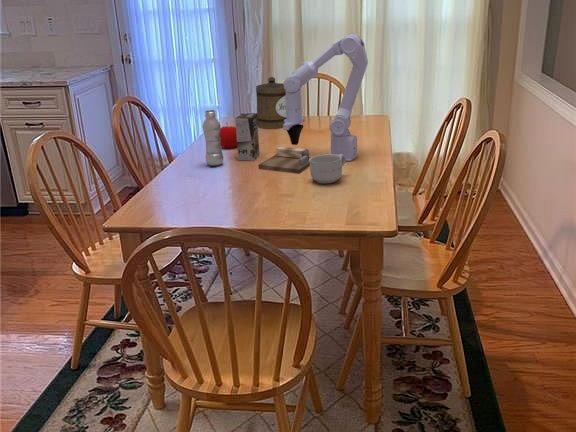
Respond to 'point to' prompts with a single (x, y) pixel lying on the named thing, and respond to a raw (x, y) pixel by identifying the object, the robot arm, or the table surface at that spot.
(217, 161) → the plastic bottle
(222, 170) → the table surface
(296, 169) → the stool seat panel
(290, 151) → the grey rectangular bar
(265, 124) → the wooden container
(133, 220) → the table surface
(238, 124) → the coffee box
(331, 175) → the teacup
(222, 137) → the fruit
